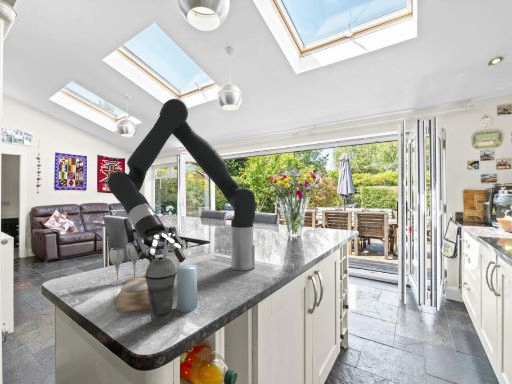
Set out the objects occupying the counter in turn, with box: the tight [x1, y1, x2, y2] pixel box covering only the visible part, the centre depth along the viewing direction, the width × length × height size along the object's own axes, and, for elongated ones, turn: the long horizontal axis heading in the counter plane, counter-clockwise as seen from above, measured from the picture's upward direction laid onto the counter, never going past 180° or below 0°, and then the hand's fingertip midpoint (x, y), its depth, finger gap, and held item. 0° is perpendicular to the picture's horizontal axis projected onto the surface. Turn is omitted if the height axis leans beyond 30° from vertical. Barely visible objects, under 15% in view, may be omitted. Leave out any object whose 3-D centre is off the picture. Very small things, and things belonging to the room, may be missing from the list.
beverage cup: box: [144, 239, 177, 327], centre depth 62 cm, size 7×7×20 cm
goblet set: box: [109, 238, 187, 286], centre depth 97 cm, size 28×6×13 cm, turn 132°
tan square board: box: [115, 277, 150, 313], centre depth 75 cm, size 12×14×4 cm
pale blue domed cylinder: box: [176, 264, 198, 313], centre depth 69 cm, size 5×5×11 cm
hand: (171, 264), depth 72 cm, fingers open, 8 cm apart
